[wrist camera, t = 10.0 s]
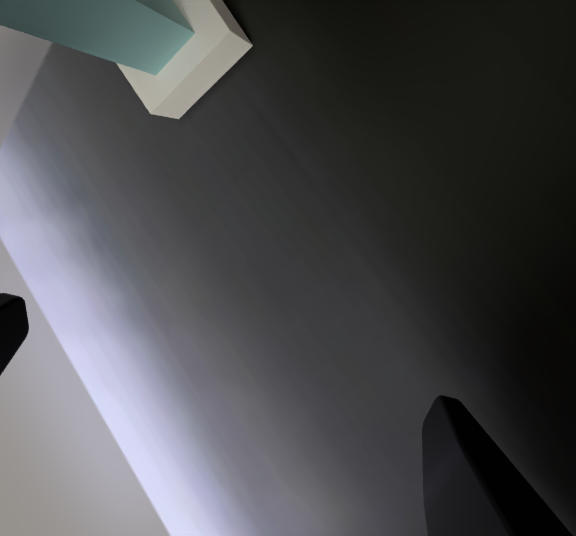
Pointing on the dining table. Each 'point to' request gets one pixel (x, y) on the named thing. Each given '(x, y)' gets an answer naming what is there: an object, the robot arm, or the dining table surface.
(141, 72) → the teal pillar on base
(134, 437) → the dining table surface
